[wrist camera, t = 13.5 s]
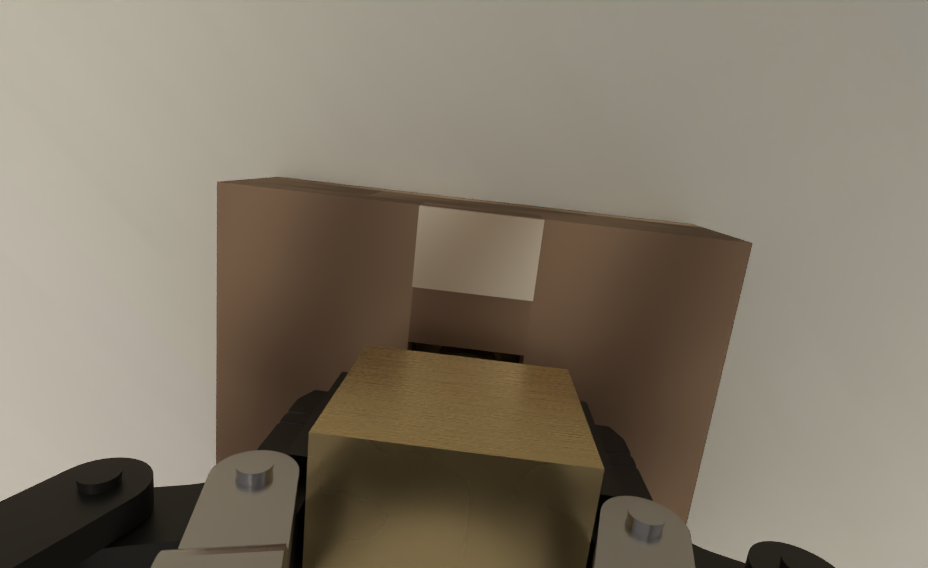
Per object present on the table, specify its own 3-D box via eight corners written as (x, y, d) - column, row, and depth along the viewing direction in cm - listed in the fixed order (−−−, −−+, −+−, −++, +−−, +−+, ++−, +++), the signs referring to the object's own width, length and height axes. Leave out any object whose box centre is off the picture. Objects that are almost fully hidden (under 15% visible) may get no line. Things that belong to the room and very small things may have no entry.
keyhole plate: (693, 224, 17) (756, 244, 13) (592, 709, 21) (616, 835, 17) (277, 176, 17) (213, 182, 13) (263, 665, 21) (211, 779, 17)
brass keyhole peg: (549, 293, 16) (622, 457, 7) (529, 427, 17) (570, 717, 8) (402, 275, 16) (295, 416, 7) (390, 410, 17) (283, 679, 8)
